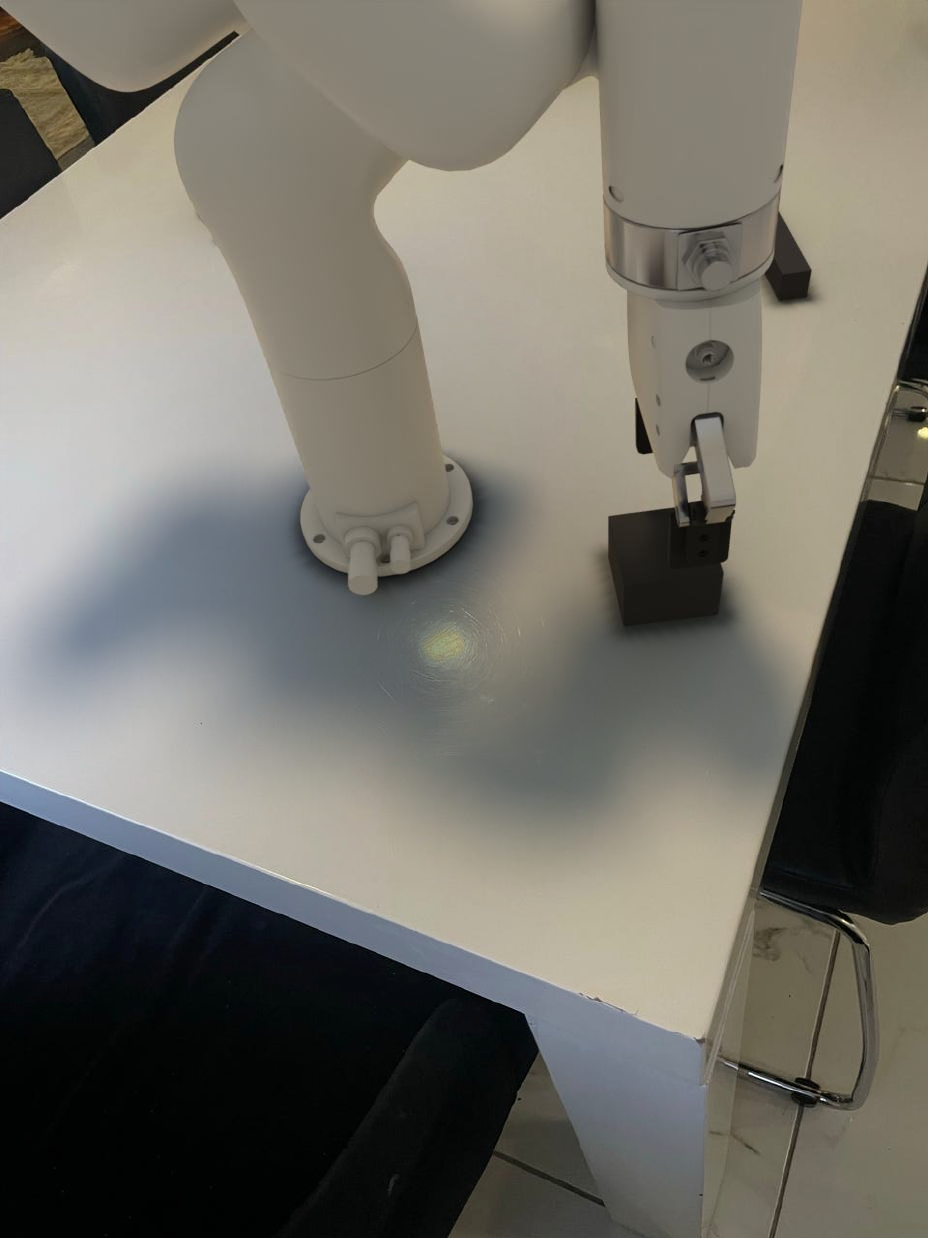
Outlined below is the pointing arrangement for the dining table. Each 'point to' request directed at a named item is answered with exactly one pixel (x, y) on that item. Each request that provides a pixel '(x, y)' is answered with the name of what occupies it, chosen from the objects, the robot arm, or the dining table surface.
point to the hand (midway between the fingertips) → (678, 502)
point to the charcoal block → (656, 572)
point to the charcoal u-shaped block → (788, 266)
